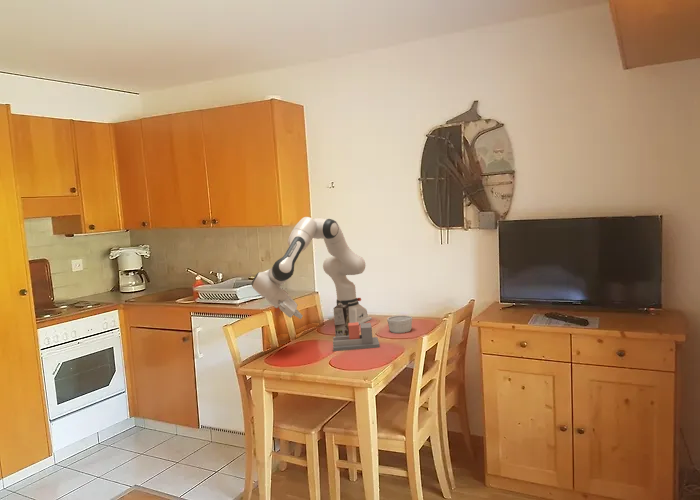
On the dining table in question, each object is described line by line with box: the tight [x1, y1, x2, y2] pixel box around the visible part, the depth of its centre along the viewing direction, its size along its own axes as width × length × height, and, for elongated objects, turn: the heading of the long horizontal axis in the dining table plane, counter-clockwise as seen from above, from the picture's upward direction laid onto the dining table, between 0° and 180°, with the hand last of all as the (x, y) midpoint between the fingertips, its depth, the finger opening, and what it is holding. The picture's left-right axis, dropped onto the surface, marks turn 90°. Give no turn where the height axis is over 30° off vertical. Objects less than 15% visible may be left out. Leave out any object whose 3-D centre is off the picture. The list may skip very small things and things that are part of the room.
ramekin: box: [387, 314, 413, 334], centre depth 292 cm, size 13×13×7 cm
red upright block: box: [348, 322, 361, 340], centre depth 269 cm, size 5×6×9 cm
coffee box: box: [333, 304, 350, 337], centre depth 289 cm, size 9×6×16 cm
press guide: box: [332, 322, 381, 352], centre depth 269 cm, size 22×14×10 cm, turn 91°
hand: (301, 317), depth 267 cm, fingers closed
